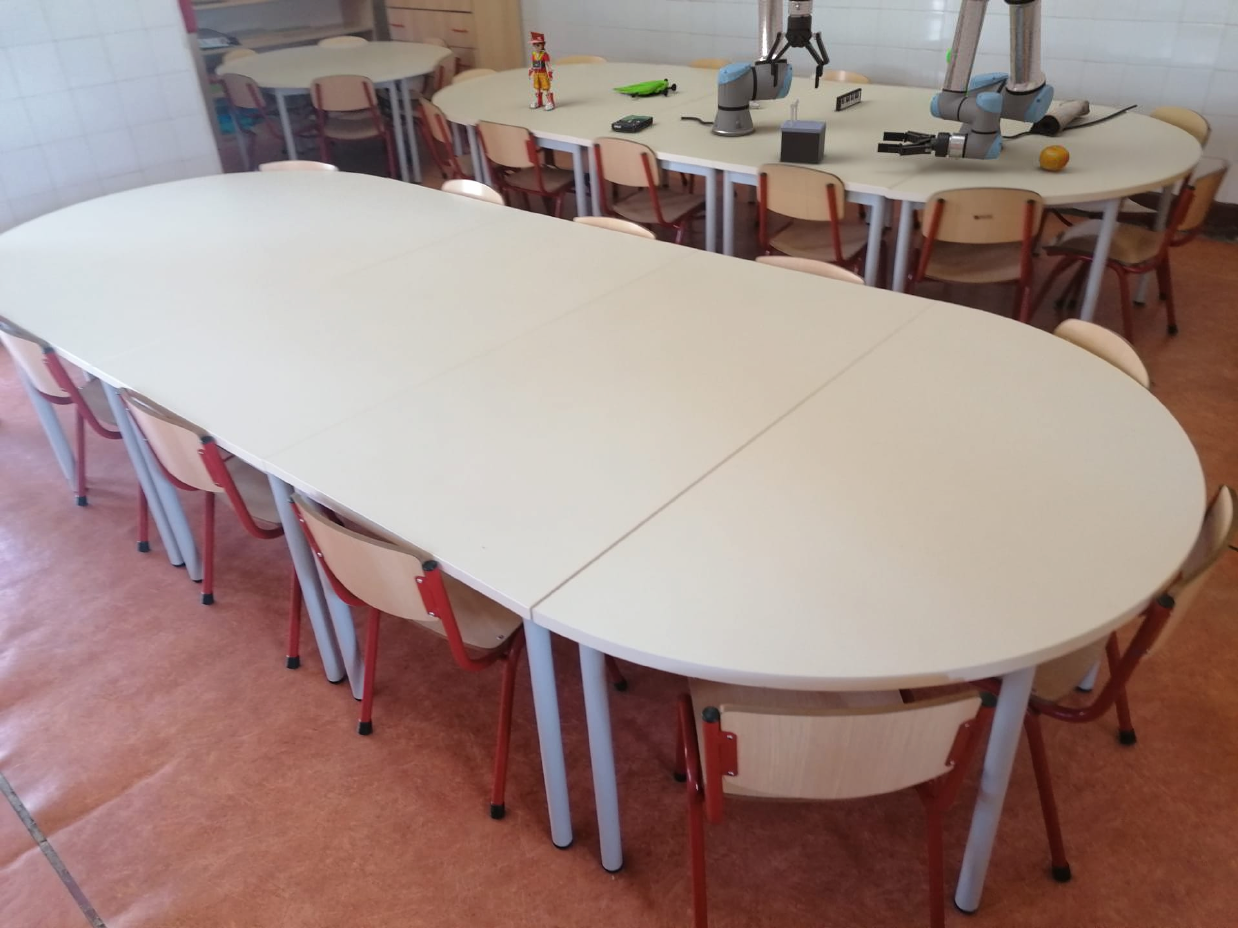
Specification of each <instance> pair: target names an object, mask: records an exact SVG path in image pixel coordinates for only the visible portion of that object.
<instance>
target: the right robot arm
mask: <svg viewBox="0 0 1238 928" xmlns="http://www.w3.org/2000/svg"><path fill="white" fill-rule="evenodd" d="M989 1H990V0H961V3H960V7H959V12H958V18H957V21H956V25H955V30H954V35H953V40H952V44H951V48H950V49H951V53H950V57H949V62H948V63H947V67H946V71H945V77H944V81H943V86H942V90H941V92H937V93H935V95H934V96H933V97H932V100H931V101H930V105H929V111H930V115H931V116H932V117H933V118H937V119H941V120H944V121H952V122H958V123H962V124H961V126H960V128H959V130H958V132H952V133H950V132H948V131H947V132H946V131H939V132H938V133H937V137H936V134H933V133H932V134H931V133H924V132H918V131H914V130H907V131H905V132H901V131H899V132H896V131H883V136H882V141H883V142H885V143H883V142H878V143H877V150H876V153H881V154H898V155H899V156H900V157H905V156H918V155H932V152H933V151H934V157H935V158H947V156H948V158H949V159H950V158H951V159H952V158H953V159H955V160H956V161H957V160H959V159H968V160H969V159H971V160H982V161H984V160H985V161H986V160H987V161H988V160H993V161H994V160H997V159H999V157H1000V155H1001V151H1002V145H1003V140H1004V139H1005V140H1006V139H1007V140H1010V139H1011V140H1012V139H1015V138H1018V137H1020V136H1024V135H1030V134H1039V133H1041V132H1040V131H1033V132H1032V131H1029V130H1028V131H1027V130H1026V131H1023V132H1019V133H1017V134H1014V135H1002V130H1001V119H1003V120H1010V121H1016V122H1022V123H1024V124H1025V123H1029V124H1033V123H1036V122H1038V121H1040V120H1041V119H1042V118H1043V117H1044V115H1045V114H1046V113H1047V112H1049V110H1050V107H1051V105H1052V102H1053V99H1054V94H1055V93H1054V92H1055V89H1054V86H1053V85H1051V84H1047V76H1046V74H1045V72H1044V71H1042V69H1041V67H1042V65H1041V64H1042V63H1041V61H1042V59H1041V58H1042V57H1041V56H1042V0H1003V2H1004V3H1005V4H1006V5H1008V7H1009V8H1008V11H1009V15H1008V16H1009V68H1010V69H1009V70H1010V71H1009V73H1010V74H1009V73H1007V72H1003V71H1001V72H999V71H998V72H988V73H987V72H986V73H980V74H978V75H975V76H973V77H972V78H971V76H972V71H973V69H974V68H973V67H974V64H975V59H976V55H977V51H978V47H979V43H980V38H981V34H982V30H983V27H984V21H985V17H986V13H987V10H988V5H989ZM1009 75H1010V76H1009ZM967 89H968V91H967ZM967 92H968V94H967ZM966 94H967V97H966ZM1137 107H1138V104H1133V105H1130V106H1128V107H1126V108H1123V109H1121V110H1118V111H1117V112H1113V114H1110V115H1108V116H1105V117H1102V118H1099V119H1096V120H1092V121H1090V122H1086V123H1085V122H1084V123H1079V124H1075V125H1068V126H1065V127H1064V128H1063V129H1062V130H1061V131H1063V130H1069V129H1077V128H1082V127H1087V126H1091V125H1093V124H1097V123H1100V122H1104V121H1107V120H1108V119H1111V118H1113V117H1115V116H1117V115H1118V116H1119V115H1120V114H1122V113H1125V112H1126V111H1129V110H1132V109H1135V108H1137ZM886 142H887V143H886ZM888 142H898V143H888ZM902 142H903V143H902ZM907 142H908V143H907ZM905 143H907V144H905Z"/></svg>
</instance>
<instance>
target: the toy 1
mask: <svg viewBox="0 0 1238 928" xmlns="http://www.w3.org/2000/svg"><path fill="white" fill-rule="evenodd" d="M529 33H530V35H531V36H528V37H527V38H528V39H529V40H528V41H527V43H529V44H530V43H531V44H532V48H533V50H534V51H533V52H532V55H531V58H530V59H531V63H530V66H528V74H527V75H528V76H527V77H528V79H529V80H531V75H532V74H533V84H532V85H533V86H532V87H533V88H534V89H535V90H536V92H534V95H535V97H536V100H535V101H533V102H531V105H530V108H531V109H535V108H538V107H542V106H544V101H543V100H544V99H543V95H544V92H546V94H545V97H546V99H547V103H546V104H545V106H544V110H546V111H549V110H553V109H554V107H555V106H556V105H555V99H554V92H551V91H550V90H551V86H552V84H551V82H552V81H553V80H554V77H553V73H554V71H555V70H554V69H552V68H551V63H550V61H551V59H550V58H551V57H550V54H549V53H548V52H547V50H546V48H545V46H546V44H547V41H545V35H544V33H543V32H542V33H539V32H535V31H529Z"/></svg>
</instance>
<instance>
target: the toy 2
mask: <svg viewBox="0 0 1238 928" xmlns="http://www.w3.org/2000/svg"><path fill="white" fill-rule="evenodd" d="M669 85H670V83H669V79H668V78H664V79H663V80H649V81H644V82H640V83H634V84H629V85H627V86H621V87H613V88H612V89H613V90H616V91H619V92H623V93H627V94H628V93H629V94H631V95H630V96H631V98H632V99H634V98H636V96H637V95H650V94H652V93H654V94H658V93H662V95H663V96H665V97H667V96H668V95H669V90H671V91H672V92H676V91H677V84H676V83H672V84H671V86H669Z"/></svg>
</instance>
